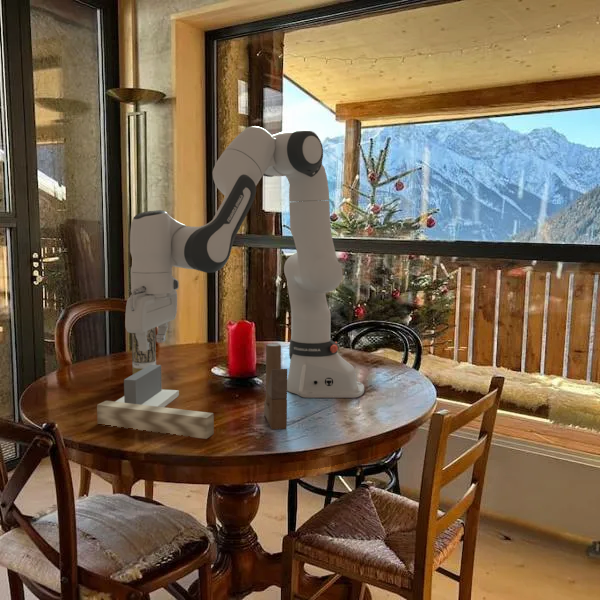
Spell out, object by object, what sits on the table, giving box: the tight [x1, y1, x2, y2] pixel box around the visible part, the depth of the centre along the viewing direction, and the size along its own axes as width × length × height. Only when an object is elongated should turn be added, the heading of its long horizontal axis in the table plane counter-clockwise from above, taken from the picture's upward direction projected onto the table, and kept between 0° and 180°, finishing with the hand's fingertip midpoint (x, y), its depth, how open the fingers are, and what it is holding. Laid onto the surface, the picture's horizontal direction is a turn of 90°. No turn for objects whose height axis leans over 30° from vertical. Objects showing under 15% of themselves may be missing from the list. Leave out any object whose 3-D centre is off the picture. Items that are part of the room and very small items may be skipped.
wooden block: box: [263, 343, 288, 431], centre depth 140 cm, size 4×11×18 cm, turn 13°
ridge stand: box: [114, 364, 180, 408], centre depth 153 cm, size 12×18×8 cm, turn 171°
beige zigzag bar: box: [96, 400, 215, 440], centre depth 135 cm, size 28×4×5 cm, turn 72°
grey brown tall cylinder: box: [131, 327, 157, 375], centre depth 176 cm, size 7×7×25 cm
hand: (152, 346), depth 133 cm, fingers open, 8 cm apart
